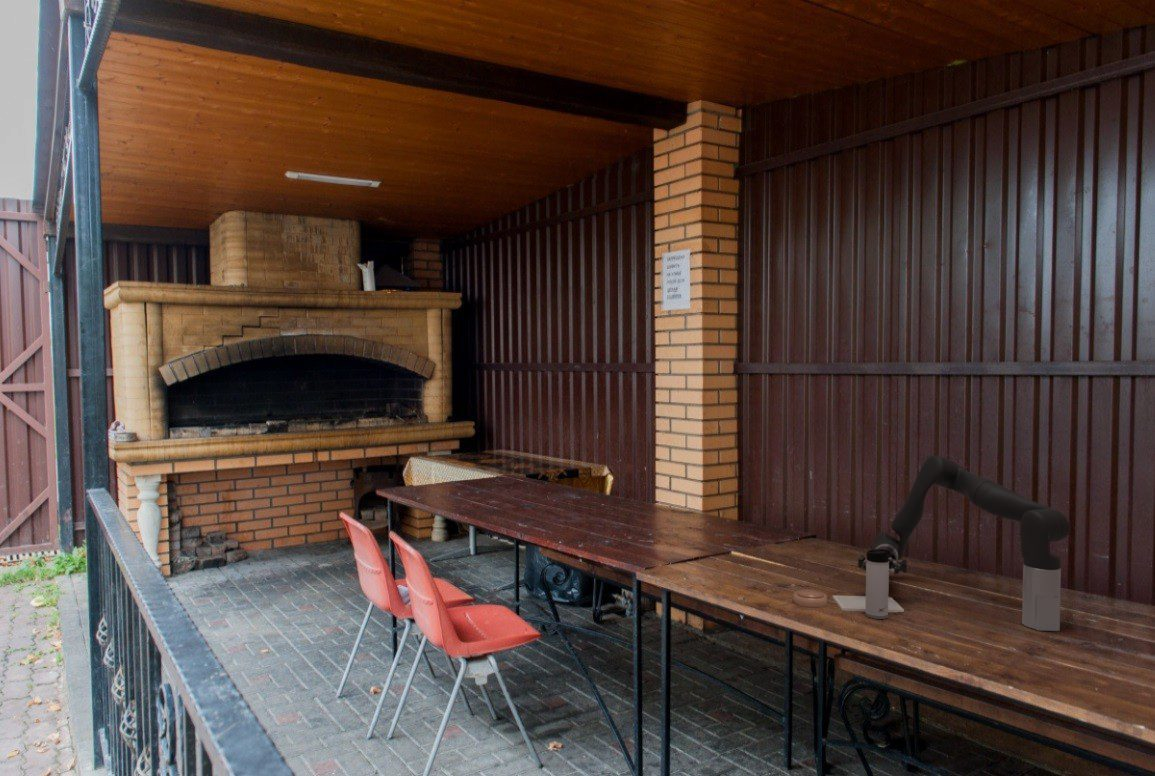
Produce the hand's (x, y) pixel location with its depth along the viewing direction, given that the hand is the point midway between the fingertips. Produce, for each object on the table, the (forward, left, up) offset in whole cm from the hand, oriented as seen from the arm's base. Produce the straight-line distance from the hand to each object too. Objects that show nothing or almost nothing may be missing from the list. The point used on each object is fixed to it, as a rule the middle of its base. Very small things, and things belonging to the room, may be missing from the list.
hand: (880, 569), depth 246 cm
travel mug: (-11, +4, -11) cm, 16 cm away
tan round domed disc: (+1, +21, -11) cm, 24 cm away
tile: (0, +4, -11) cm, 12 cm away
